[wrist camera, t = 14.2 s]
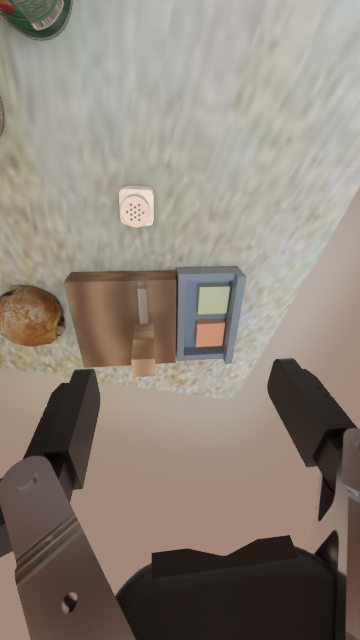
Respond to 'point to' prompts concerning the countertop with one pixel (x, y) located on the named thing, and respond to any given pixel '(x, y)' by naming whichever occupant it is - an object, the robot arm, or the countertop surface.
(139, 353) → the long tan wooden block
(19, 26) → the canned tomato
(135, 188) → the pepper shaker
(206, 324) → the terracotta tile
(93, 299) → the board
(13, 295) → the bread roll
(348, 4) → the countertop surface
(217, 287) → the sage tile
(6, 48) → the countertop surface
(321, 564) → the robot arm
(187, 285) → the tray
